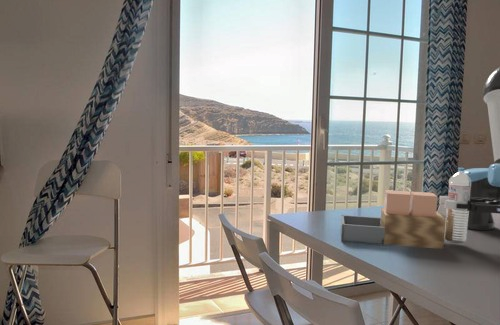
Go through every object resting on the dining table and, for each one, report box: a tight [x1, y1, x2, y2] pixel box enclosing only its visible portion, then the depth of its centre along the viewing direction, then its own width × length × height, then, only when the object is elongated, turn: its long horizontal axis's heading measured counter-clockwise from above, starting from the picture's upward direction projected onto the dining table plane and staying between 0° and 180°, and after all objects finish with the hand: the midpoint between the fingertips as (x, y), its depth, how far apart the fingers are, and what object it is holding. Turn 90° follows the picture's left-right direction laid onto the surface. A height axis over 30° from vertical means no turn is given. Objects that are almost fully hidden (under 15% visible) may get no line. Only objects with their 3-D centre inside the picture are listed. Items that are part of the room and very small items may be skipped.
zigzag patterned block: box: [380, 207, 446, 250], centre depth 147 cm, size 19×12×10 cm, turn 79°
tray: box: [340, 214, 385, 246], centre depth 151 cm, size 14×15×6 cm
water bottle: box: [444, 167, 472, 244], centre depth 143 cm, size 7×7×25 cm
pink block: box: [383, 189, 411, 215], centre depth 147 cm, size 8×7×7 cm
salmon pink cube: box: [409, 190, 438, 217], centre depth 146 cm, size 8×7×7 cm
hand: (442, 202), depth 144 cm, fingers closed on water bottle, 7 cm apart
